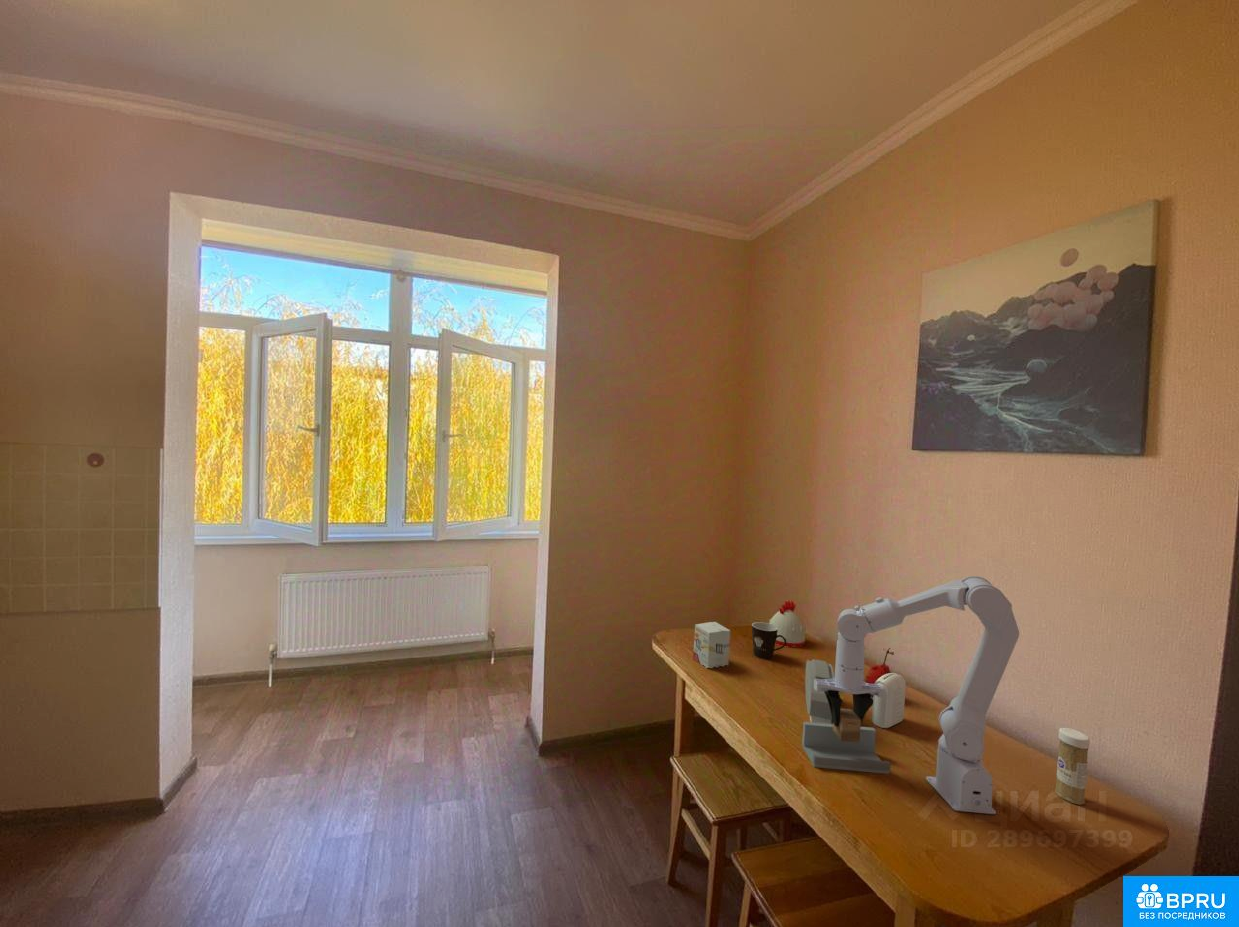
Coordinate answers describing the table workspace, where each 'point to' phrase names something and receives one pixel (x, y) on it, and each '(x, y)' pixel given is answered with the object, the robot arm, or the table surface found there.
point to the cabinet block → (848, 726)
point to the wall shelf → (842, 749)
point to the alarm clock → (814, 699)
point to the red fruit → (877, 671)
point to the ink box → (711, 644)
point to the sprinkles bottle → (1072, 765)
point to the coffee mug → (765, 639)
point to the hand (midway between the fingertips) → (845, 724)
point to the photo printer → (889, 701)
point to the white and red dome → (788, 626)
